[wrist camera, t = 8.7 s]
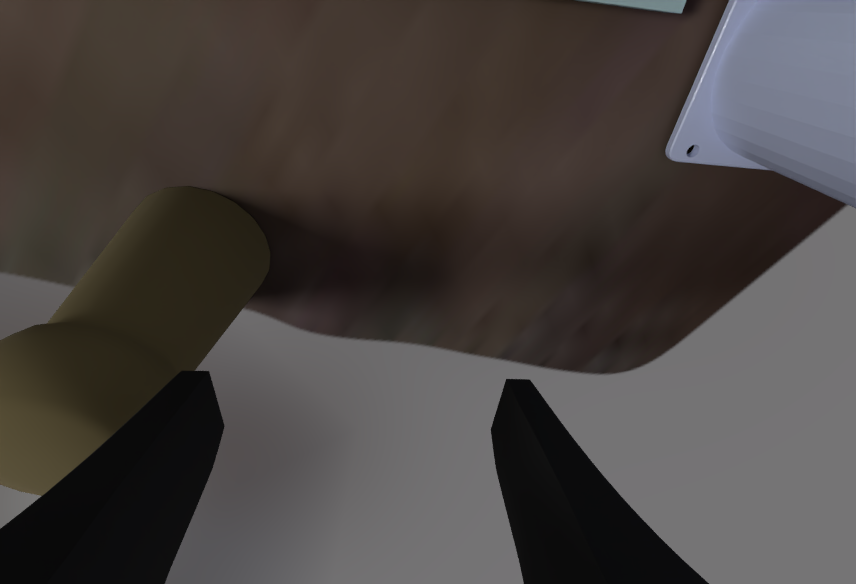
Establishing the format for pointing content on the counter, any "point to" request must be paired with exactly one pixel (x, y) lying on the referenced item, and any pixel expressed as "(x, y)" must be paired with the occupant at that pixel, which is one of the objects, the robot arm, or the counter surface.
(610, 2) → the socket
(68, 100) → the counter surface
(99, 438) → the cork
